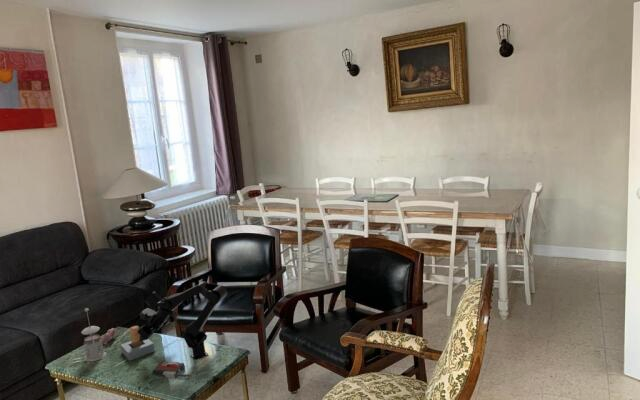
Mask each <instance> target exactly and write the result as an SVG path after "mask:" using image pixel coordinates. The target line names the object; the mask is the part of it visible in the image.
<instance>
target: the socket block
mask: <svg viewBox="0 0 640 400" xmlns="http://www.w3.org/2000/svg"><path fill="white" fill-rule="evenodd" d="M120 349H121V353H122V354H123V355H124V357H126V358H127V360H128V361H133V360H135V359H139V358H140V357H143V356H145V355H148V354H150V353H153V352H155V345H154V342H152V341H151V339H150V338H149V339H147V340H144V341H142V345H141V346H138V347H136V348H132V342H131V340H129V341H127V342H124V343H121V344H120Z"/></svg>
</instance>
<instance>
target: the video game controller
mask: <svg viewBox="0 0 640 400" xmlns="http://www.w3.org/2000/svg"><path fill="white" fill-rule="evenodd" d="M116 332H117V328H113V327H111V329H108V330H107V331H106V334H104V336H103V338H101V339H102V344H103V345H105V344H106V343H107V342H108V343H109V342H111V340H112V339H113V338H114V336H115V334H116Z"/></svg>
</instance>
